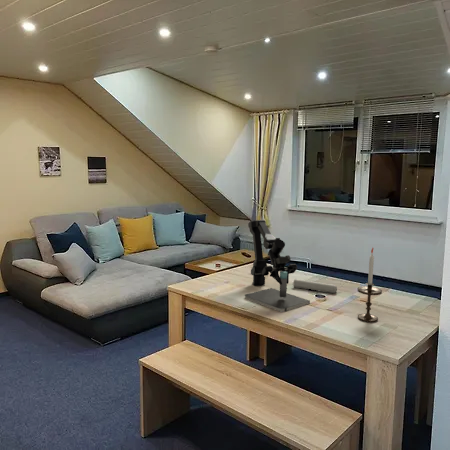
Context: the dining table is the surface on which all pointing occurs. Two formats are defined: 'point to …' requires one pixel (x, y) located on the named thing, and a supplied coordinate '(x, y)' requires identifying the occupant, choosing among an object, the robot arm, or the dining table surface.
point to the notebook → (276, 300)
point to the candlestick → (369, 293)
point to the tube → (314, 286)
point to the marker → (283, 283)
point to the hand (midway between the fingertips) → (284, 283)
